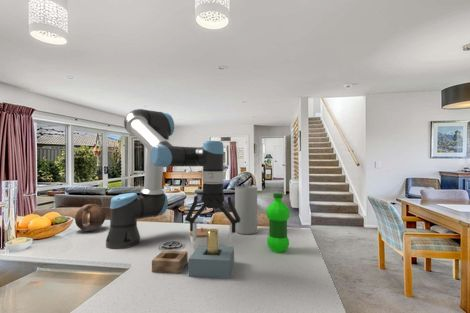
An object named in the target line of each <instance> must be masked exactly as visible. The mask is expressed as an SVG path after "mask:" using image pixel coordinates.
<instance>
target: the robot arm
mask: <svg viewBox="0 0 470 313" xmlns="http://www.w3.org/2000/svg"><path fill="white" fill-rule="evenodd" d="M123 126H124V129H125V130H126V132H128V134H130V135H131V136H133V137H135V138H136V139H137V140H138V141H139V142H140V143H141V144H142V145H143V147H145V148H146V157H145V171H144V183H143V187H142V189H141V190H140V194H139V195H138V193H136V192H130V193H129V192H128V193H122V194H118V195H114V196H113V197H112V198H111V199H110V205H109V209H110V215H109V216H110V219H109V222H110V223H109V224H110V225H109V231H108V234H107V236H106V239H105V247H106V248H108V249H125V248H127V249H128V248H131V247H133V246H137V245H139V244H140V243H141V235H140V232H139V229H138V228H139V227H138V226H137V225H138V223H137V222H138V220H141V219H147V218H156V217H159V216H162V215H164V214H165V213H166V211H167V209H168V206H169V204H168V203H169V201H168V196H167V194H166V193H165V191H164V189H163V188H162V187H163V186H162V184H163V176H164V175H163V173H164V168H168V167H170V168H171V167H175V168H176V167H202V182H203V184H202V196H200V195H198V194H197V195H194V197H193V202H192V204H191V205H190V208H189V210H188V212H187V215H186V216H185V218H184V221H185V222H189V229H190V230H189V232H190V231H193V241H195V240H196V239H197V229H198V228H197V227H198V226H197V224H198V222H197V221H196V220H197V218H198V217H199V216H200V215H201V214H202V213H203V212H204V210H205V209H206V208H207V209H214V210H215V209H217V210H218V209H219V210H220V211H221V212H222V213H223V215H225V217H226V219H228V221H229V222H230V223H229V243H233V235H234V234H235V233H236V232H235V231H236V223H239V222H240V220H241V219H240V217H239V215H238V213H237V211H236V209H235V203H234V202H233V196H232V195H229V196H224V184H223V182H224V154H225V151H224V143H223V142H222V141H221V140H204V142H203V143H202V146H201V147H195V146H178V145H177V146H176V145H173V144H171V143H170V142H169V137H171V136H172V135H173V134H174V133H175V121H174V119H173V117H172V115H171V114H169V113H167V112H163V111H158V110H157V111H155V110H148V109H142V108H137V109H133V110H131V111H129V112H128V113H127V114H126V116H125V117H124V119H123ZM200 201H202V202H203V205H201V207H200V208H199V209H198V210H197V211H196V213H195V214H194V215H193V213H194V211H195V209H196V208H197V206H198V203H199V202H200ZM224 201H225V202H226V203H228V206H229V208H230V211H231V212H232V214H233V215H232V214H231V213H230V212H229V210H228V209H227V207H226V206H225V205H224V203H223V202H224ZM192 215H193V216H192ZM233 216H234V217H233Z"/></svg>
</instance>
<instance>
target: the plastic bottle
mask: <svg viewBox="0 0 470 313" xmlns="http://www.w3.org/2000/svg"><path fill="white" fill-rule="evenodd" d="M272 195H273V196H272V197H273V199H274V200H273V202H272V203H271V204H269V205H268V206H267V208H266V217H267V219H268V221H269V222H268V223H269V226H268V227H269V234H268V237H267V242H266V243H267V247H268V248H269V249H270V250H272V251H273V253H283V252H285V251H286V250H287V249H288V248H289V247H290V241H289V237H288V220H289V219H290V217H291V212H290V208H289V207H288V206H287V205H286V203H284V202H283V201H282V200H283V198H284V197H283V195H284V193H283V192H282V193H281V192H273V193H272Z"/></svg>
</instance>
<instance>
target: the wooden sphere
mask: <svg viewBox="0 0 470 313" xmlns="http://www.w3.org/2000/svg"><path fill="white" fill-rule="evenodd" d="M106 215H107V214H106V211H105V210H104V208H103V207H102V206H101V205H98V204H97V203H96V204H95V203H89V204H88V203H87V204H84V205H83V206H81V207H80V208H79V209H78V210H77V211H76V214H75V217H74V222H75V225H76V227H77V228H79V229H80V230H81V231H85V232H91V231H96V230H98V229H99V228H101V227H102V225H103V224H104V223H105V220H106V217H107V216H106Z"/></svg>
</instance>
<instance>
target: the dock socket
mask: <svg viewBox="0 0 470 313" xmlns="http://www.w3.org/2000/svg"><path fill="white" fill-rule="evenodd" d="M234 264H235V246H232V245H231V246H230V245H229V246H228V245H218V255H207V245H199V246H198V247H197V248H196V250H195V249H194V251H193V252H192V253H191V255H190V256H189V257H188V277H193V278H195V277H196V278H197V277H198V278H212V279H231V274H232V270H233V267H234Z"/></svg>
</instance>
